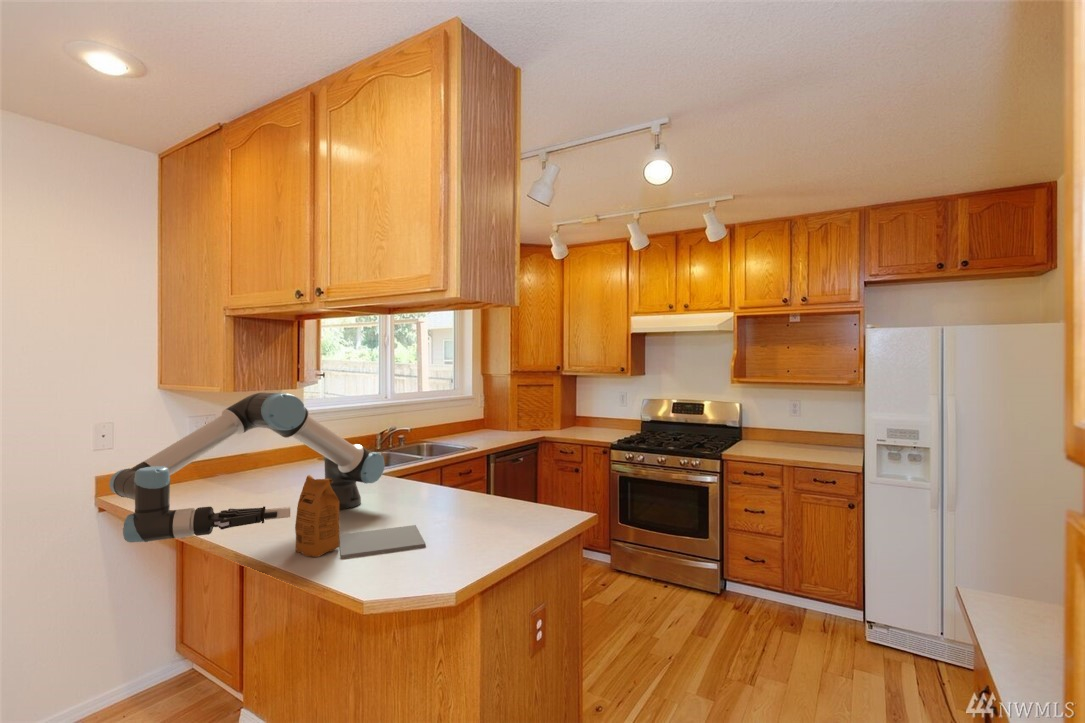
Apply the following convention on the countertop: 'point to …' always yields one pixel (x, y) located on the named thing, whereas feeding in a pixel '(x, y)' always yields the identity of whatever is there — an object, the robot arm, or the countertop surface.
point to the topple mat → (380, 541)
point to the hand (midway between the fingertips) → (290, 512)
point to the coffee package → (317, 518)
